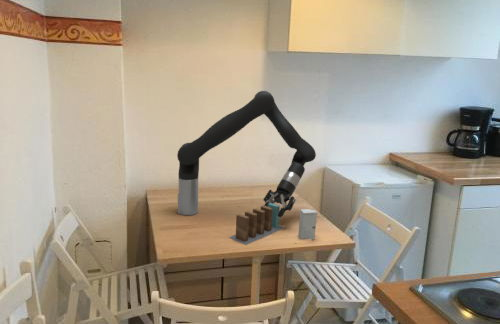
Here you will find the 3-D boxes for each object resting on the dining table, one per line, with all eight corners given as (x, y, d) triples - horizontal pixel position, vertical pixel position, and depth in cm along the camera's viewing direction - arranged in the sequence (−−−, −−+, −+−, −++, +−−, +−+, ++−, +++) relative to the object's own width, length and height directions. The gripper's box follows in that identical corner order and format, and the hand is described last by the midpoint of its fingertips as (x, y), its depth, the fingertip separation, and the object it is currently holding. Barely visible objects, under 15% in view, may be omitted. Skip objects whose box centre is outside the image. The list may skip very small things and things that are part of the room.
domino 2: (247, 233, 179) (248, 210, 176) (256, 236, 176) (257, 214, 173) (244, 234, 177) (244, 212, 175) (252, 238, 174) (253, 215, 172)
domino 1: (239, 236, 175) (239, 213, 173) (248, 240, 172) (248, 217, 170) (235, 238, 174) (236, 215, 171) (244, 241, 170) (245, 218, 168)
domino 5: (269, 224, 190) (270, 202, 187) (278, 227, 187) (279, 205, 184) (266, 225, 188) (267, 203, 186) (275, 228, 185) (276, 206, 183)
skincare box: (301, 240, 175) (303, 213, 172) (297, 236, 179) (299, 209, 176) (315, 239, 176) (317, 212, 173) (311, 235, 180) (313, 208, 177)
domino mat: (268, 222, 193) (268, 221, 193) (285, 228, 186) (285, 227, 186) (227, 238, 174) (228, 237, 174) (245, 246, 168) (245, 245, 167)
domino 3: (255, 230, 182) (255, 208, 180) (263, 233, 179) (264, 211, 177) (252, 231, 181) (252, 209, 179) (260, 234, 178) (261, 212, 175)
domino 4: (262, 227, 186) (263, 205, 184) (271, 230, 183) (272, 208, 180) (259, 228, 185) (260, 206, 182) (268, 231, 181) (269, 209, 179)
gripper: (272, 175, 193) (255, 205, 187) (298, 182, 183) (280, 213, 178) (279, 184, 198) (262, 213, 192) (304, 191, 189) (287, 222, 183)
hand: (271, 213), depth 185 cm, fingers open, 8 cm apart
